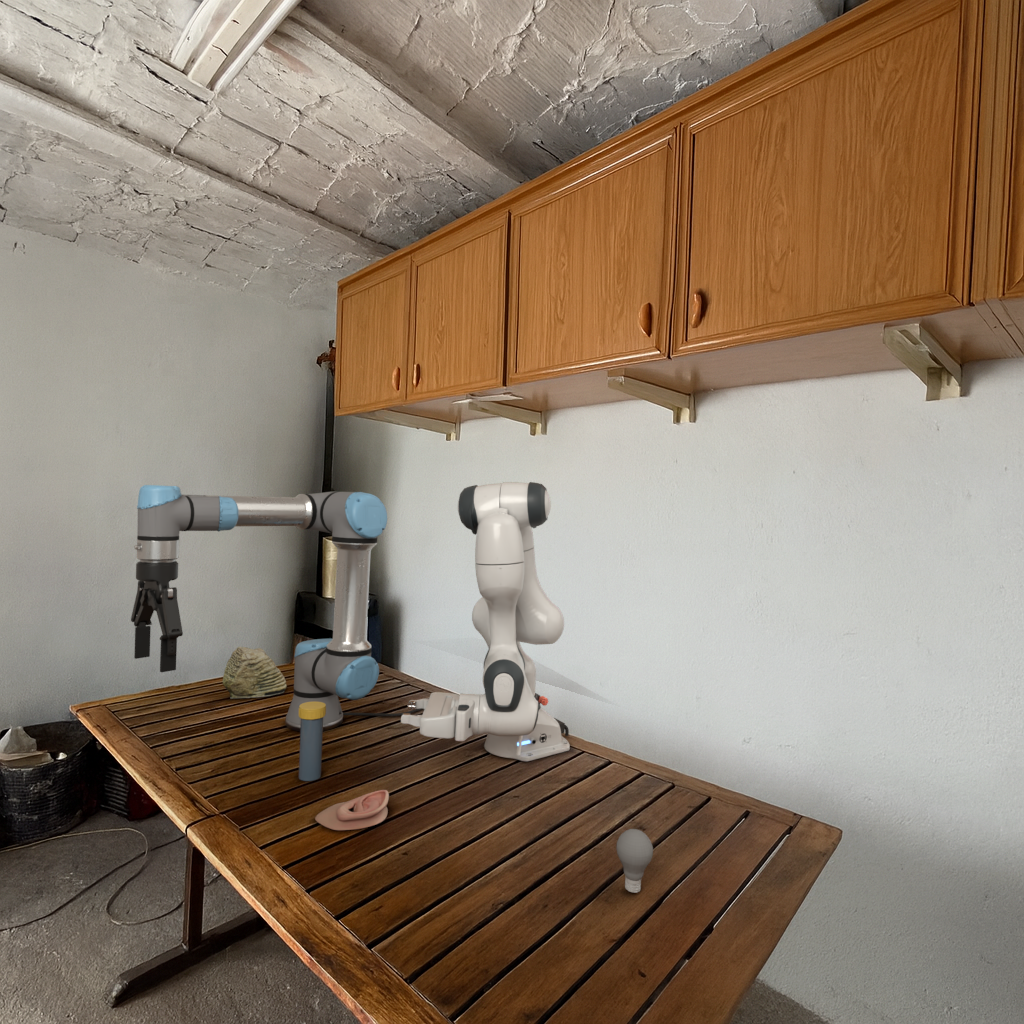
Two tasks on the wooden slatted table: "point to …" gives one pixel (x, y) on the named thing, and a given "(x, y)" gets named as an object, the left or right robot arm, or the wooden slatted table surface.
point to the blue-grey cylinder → (310, 749)
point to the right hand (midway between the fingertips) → (405, 711)
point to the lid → (312, 710)
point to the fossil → (252, 674)
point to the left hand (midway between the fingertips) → (154, 664)
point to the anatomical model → (356, 812)
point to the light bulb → (634, 857)
